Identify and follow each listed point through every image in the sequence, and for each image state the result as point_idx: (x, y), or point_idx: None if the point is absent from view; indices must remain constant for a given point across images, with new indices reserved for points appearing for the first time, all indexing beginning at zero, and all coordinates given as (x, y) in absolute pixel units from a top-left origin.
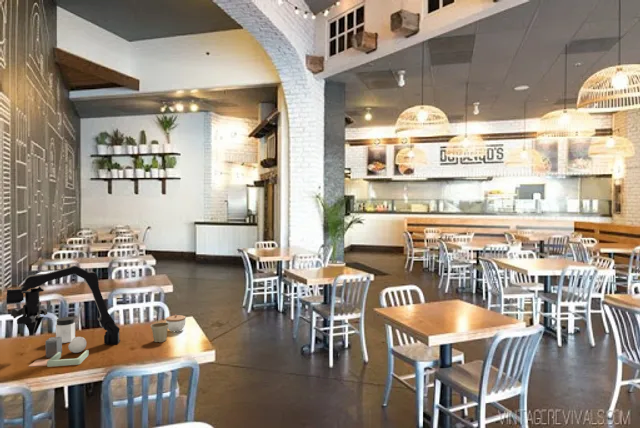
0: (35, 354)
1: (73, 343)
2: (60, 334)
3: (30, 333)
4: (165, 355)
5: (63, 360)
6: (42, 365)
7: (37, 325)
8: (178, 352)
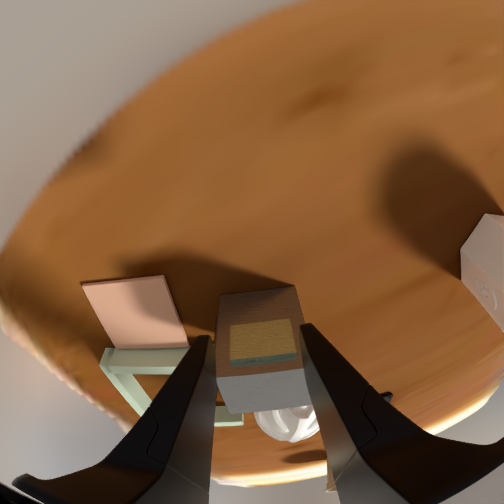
0: (294, 201)
1: (257, 420)
2: (491, 271)
3: (192, 354)
4: (230, 473)
5: (126, 399)
6: (107, 331)
7: (325, 433)
8: (247, 477)
